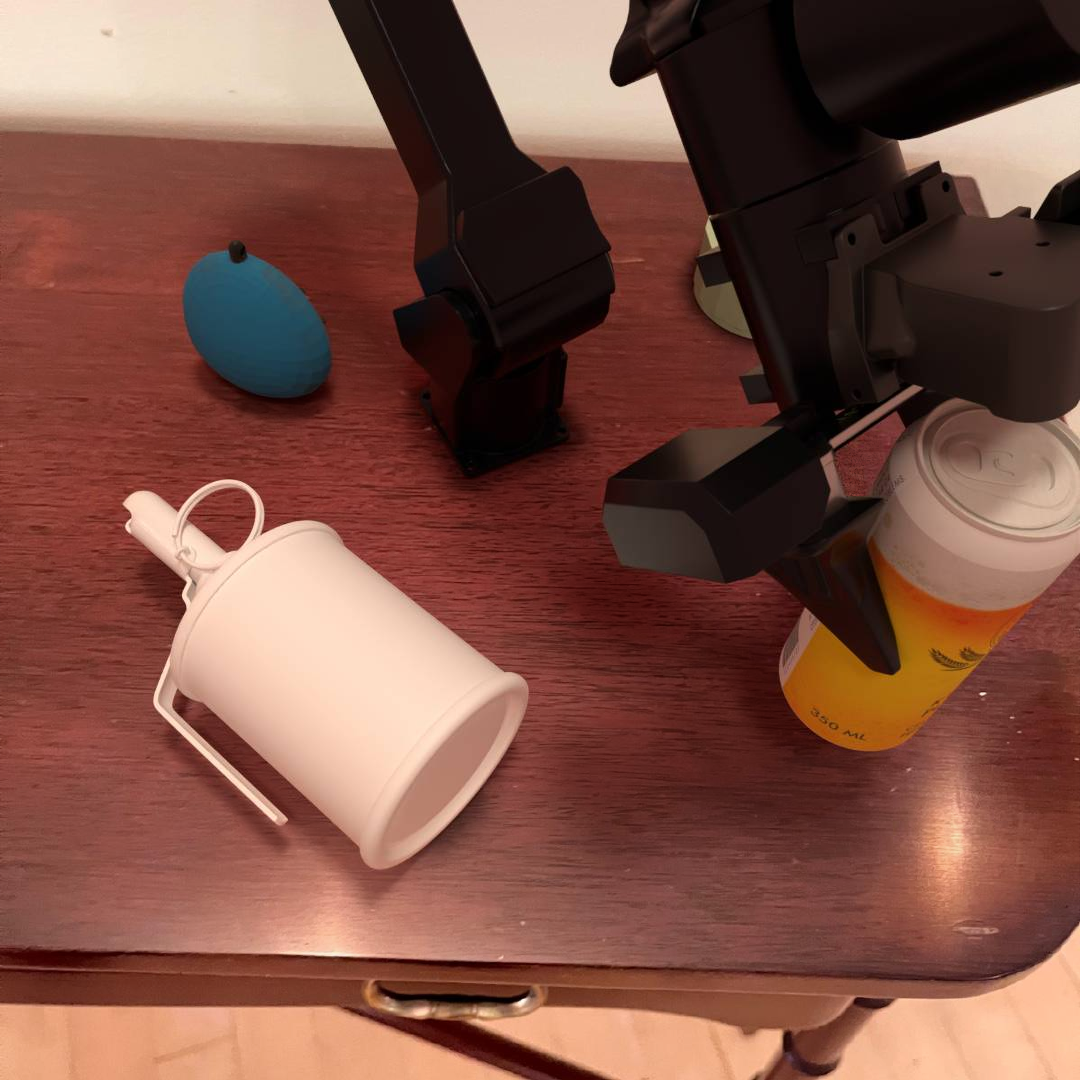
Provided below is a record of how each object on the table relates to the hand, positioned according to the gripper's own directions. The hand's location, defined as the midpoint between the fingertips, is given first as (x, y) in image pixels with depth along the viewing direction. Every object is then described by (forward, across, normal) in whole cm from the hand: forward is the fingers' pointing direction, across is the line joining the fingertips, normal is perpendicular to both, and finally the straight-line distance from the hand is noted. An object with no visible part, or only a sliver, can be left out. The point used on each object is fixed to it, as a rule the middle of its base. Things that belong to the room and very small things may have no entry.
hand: (945, 622), depth 35 cm
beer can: (+4, 0, +6) cm, 8 cm away
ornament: (-15, -8, +34) cm, 39 cm away
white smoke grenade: (+1, -15, +12) cm, 19 cm away
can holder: (-8, +20, +27) cm, 34 cm away
